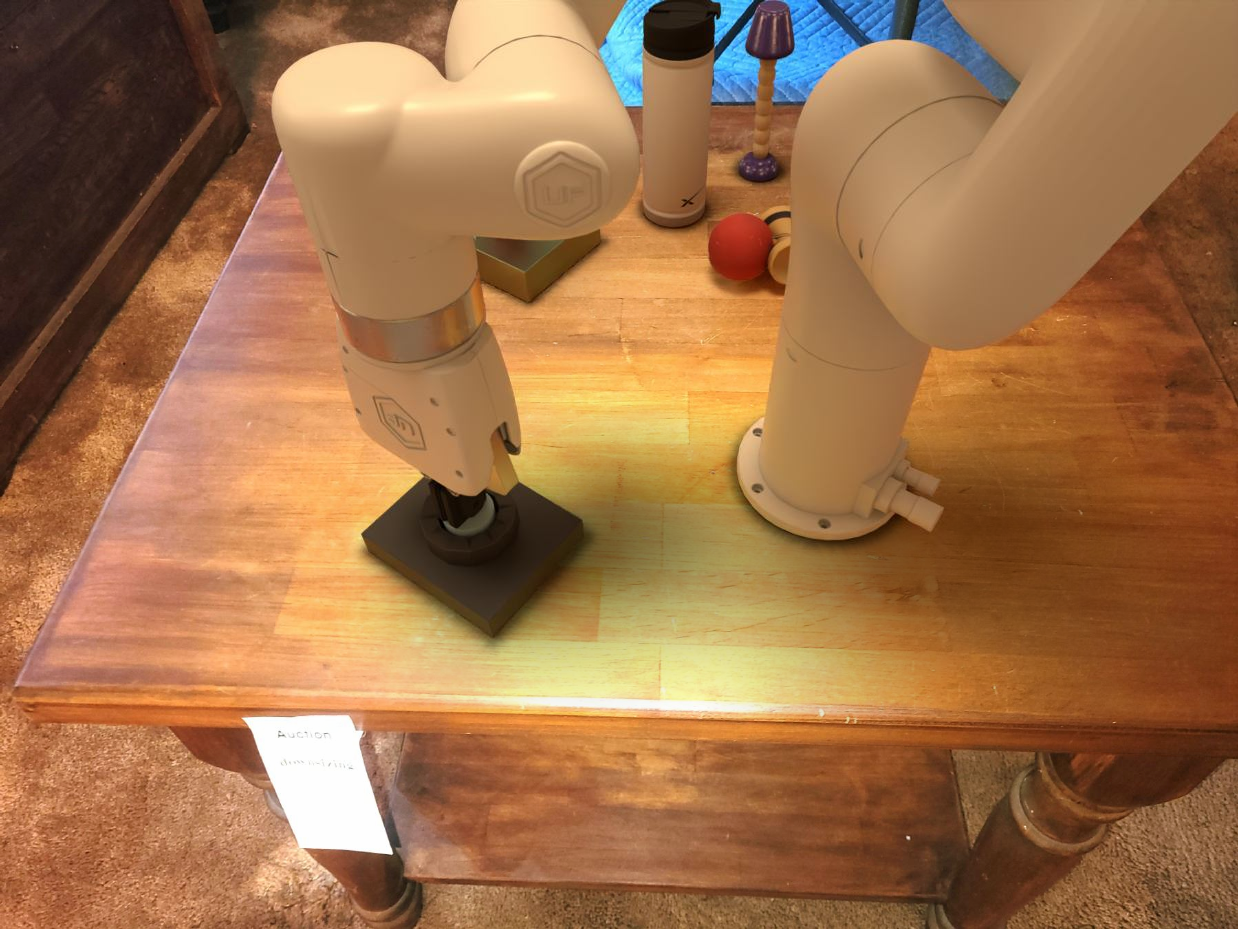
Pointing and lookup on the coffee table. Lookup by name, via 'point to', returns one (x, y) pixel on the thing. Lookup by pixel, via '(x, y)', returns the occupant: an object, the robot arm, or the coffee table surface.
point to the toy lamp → (766, 81)
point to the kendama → (752, 245)
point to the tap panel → (529, 261)
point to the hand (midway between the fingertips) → (463, 509)
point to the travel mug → (677, 108)
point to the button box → (476, 551)
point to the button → (475, 521)
